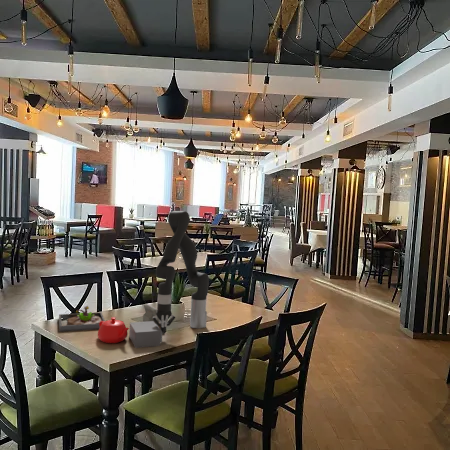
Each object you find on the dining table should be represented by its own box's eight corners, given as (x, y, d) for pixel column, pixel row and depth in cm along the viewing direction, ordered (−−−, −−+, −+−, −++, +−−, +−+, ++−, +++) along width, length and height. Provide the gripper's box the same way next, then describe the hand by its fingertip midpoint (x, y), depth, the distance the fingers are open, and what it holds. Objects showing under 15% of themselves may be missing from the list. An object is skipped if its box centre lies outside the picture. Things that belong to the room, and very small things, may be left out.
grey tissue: (161, 326, 253) (162, 308, 253) (146, 327, 250) (147, 309, 249) (155, 318, 268) (156, 302, 268) (141, 319, 265) (141, 303, 264)
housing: (152, 335, 236) (153, 321, 235) (160, 345, 219) (160, 330, 219) (129, 336, 231) (129, 322, 230) (135, 347, 214) (135, 332, 214)
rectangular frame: (101, 316, 266) (101, 312, 266) (105, 328, 243) (106, 323, 243) (59, 319, 256) (59, 314, 256) (59, 331, 233) (59, 326, 233)
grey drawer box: (155, 333, 235) (156, 323, 234) (162, 342, 221) (162, 331, 221) (132, 335, 230) (132, 325, 229) (137, 344, 216) (138, 333, 216)
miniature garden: (72, 330, 237) (73, 311, 237) (63, 321, 253) (64, 303, 253) (107, 326, 249) (107, 307, 248) (96, 317, 265) (97, 300, 264)
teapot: (87, 338, 225) (87, 315, 224) (111, 332, 237) (112, 310, 237) (115, 350, 210) (116, 326, 209) (140, 343, 222) (141, 320, 221)
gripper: (153, 304, 221) (152, 336, 222) (178, 303, 226) (176, 334, 227) (150, 301, 228) (149, 332, 229) (174, 299, 233) (173, 330, 234)
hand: (163, 333), depth 228 cm, fingers closed
